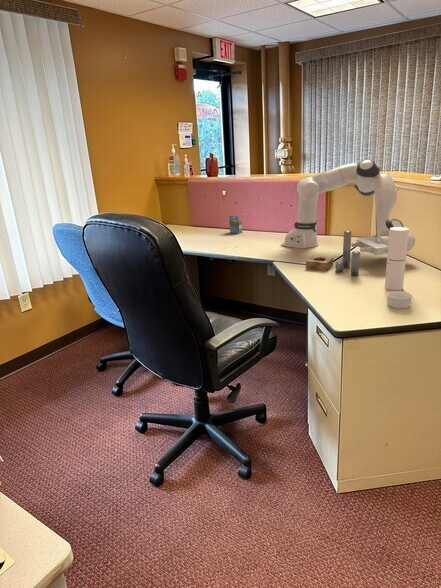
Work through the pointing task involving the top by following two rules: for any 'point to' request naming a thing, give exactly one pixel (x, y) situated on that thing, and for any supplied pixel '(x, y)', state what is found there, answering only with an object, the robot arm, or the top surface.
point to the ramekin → (399, 299)
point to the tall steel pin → (346, 249)
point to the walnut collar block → (319, 263)
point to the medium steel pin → (355, 263)
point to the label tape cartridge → (235, 225)
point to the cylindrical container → (396, 258)
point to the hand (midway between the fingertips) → (356, 247)
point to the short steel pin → (339, 267)
